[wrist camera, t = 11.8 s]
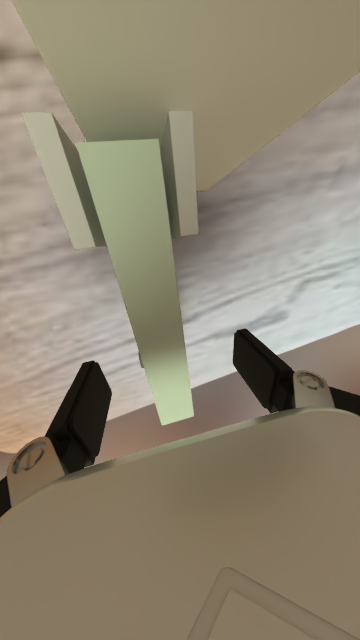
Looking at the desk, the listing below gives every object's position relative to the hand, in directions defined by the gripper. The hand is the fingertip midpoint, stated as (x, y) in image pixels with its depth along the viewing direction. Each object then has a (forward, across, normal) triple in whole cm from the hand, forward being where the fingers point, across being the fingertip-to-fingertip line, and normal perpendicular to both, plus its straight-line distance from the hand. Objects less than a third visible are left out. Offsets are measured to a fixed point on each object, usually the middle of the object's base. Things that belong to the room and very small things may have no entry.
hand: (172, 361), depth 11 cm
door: (+14, +1, -2) cm, 14 cm away
